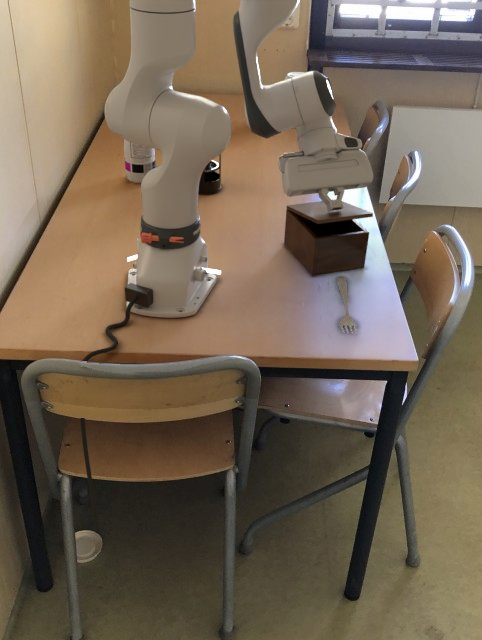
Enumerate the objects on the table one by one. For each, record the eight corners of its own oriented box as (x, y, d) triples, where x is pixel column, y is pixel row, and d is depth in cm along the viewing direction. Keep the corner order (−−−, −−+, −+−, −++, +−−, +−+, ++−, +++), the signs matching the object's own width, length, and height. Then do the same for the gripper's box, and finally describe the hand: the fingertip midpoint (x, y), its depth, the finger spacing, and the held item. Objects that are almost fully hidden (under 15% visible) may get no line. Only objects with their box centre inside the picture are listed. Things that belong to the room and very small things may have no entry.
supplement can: (119, 180, 191) (115, 125, 182) (137, 170, 197) (134, 117, 188) (144, 186, 188) (141, 131, 179) (161, 176, 194) (159, 122, 185)
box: (364, 268, 155) (369, 231, 150) (311, 276, 151) (315, 239, 146) (333, 237, 167) (337, 202, 162) (283, 244, 163) (286, 209, 158)
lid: (372, 216, 148) (373, 213, 147) (318, 224, 144) (317, 220, 143) (337, 202, 162) (337, 199, 162) (286, 208, 158) (286, 205, 158)
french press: (218, 197, 184) (218, 109, 171) (182, 193, 185) (181, 106, 172) (225, 180, 194) (226, 95, 180) (191, 177, 194) (190, 93, 181)
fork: (348, 277, 151) (349, 270, 150) (358, 342, 131) (359, 334, 130) (333, 277, 151) (334, 269, 150) (341, 341, 131) (342, 333, 130)
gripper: (280, 147, 145) (296, 210, 143) (367, 138, 151) (383, 198, 149) (271, 160, 151) (286, 220, 149) (355, 151, 157) (370, 209, 155)
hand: (335, 209), depth 149 cm, fingers closed
